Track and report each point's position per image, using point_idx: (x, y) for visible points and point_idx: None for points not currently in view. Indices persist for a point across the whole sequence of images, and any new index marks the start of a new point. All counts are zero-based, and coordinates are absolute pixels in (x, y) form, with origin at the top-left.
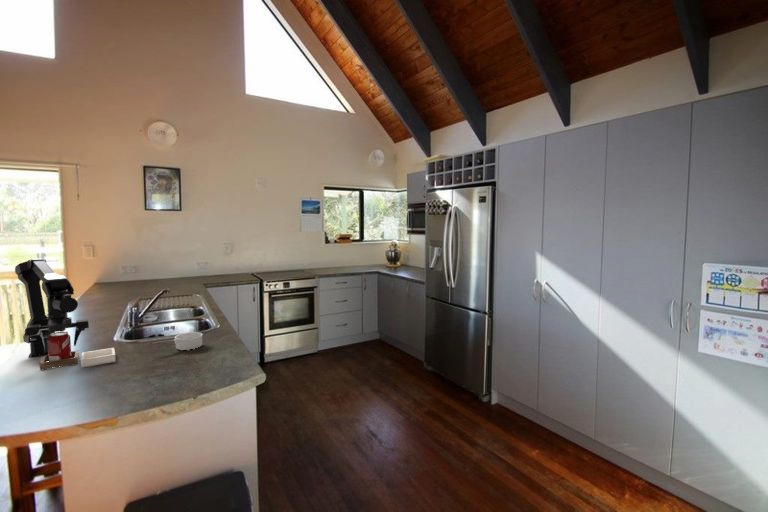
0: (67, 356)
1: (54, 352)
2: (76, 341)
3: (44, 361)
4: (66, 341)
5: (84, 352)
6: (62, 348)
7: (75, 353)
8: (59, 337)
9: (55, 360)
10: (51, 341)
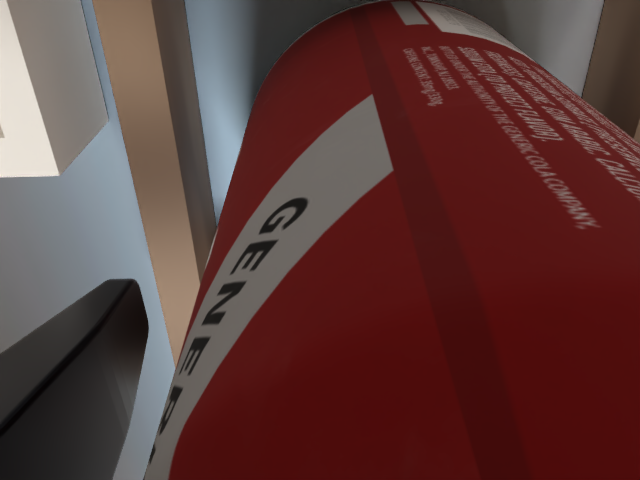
0: (282, 79)
1: (548, 79)
2: (13, 347)
3: (635, 90)
4: (248, 274)
5: (8, 155)
6: (375, 102)
7: (188, 248)
8: (601, 464)
9: (477, 25)
10: None
